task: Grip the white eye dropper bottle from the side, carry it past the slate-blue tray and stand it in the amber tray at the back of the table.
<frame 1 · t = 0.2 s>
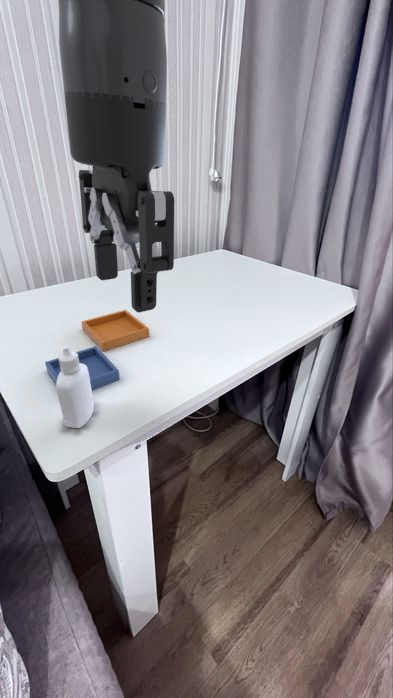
hand: (124, 292, 34), 22 cm above the table, tool pointing down, fingers open, 8 cm apart
eye dropper bottle: (80, 416, 49), on the table
amber tray: (115, 333, 69), on the table
blue tray: (83, 375, 57), on the table
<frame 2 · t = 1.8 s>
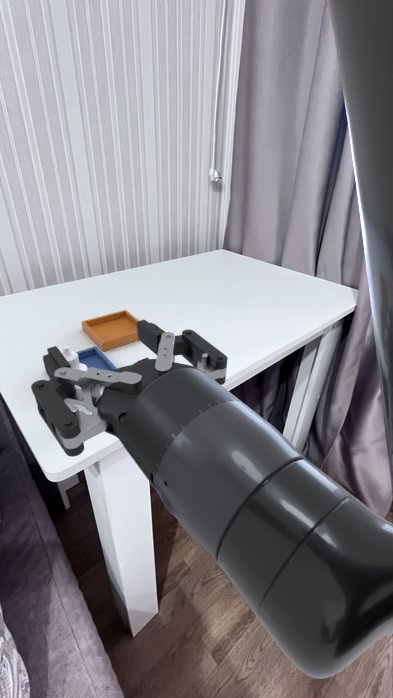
hand: (99, 341, 31), 19 cm above the table, tool horizontal, fingers open, 8 cm apart
nothing on the table moved.
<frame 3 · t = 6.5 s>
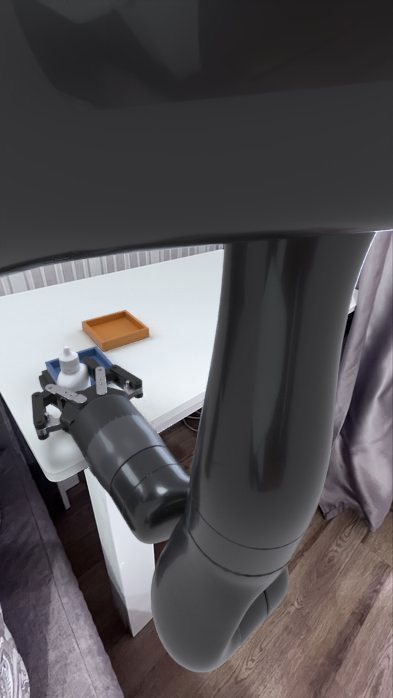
hand: (65, 368, 47), 7 cm above the table, tool horizontal, fingers closed on eye dropper bottle, 5 cm apart
eye dropper bottle: (80, 416, 49), on the table, touching gripper
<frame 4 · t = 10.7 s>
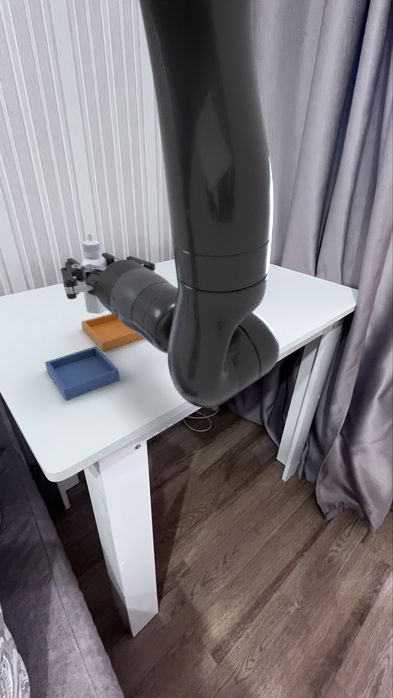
hand: (87, 261, 53), 18 cm above the table, tool horizontal, fingers closed on eye dropper bottle, 5 cm apart
eye dropper bottle: (99, 308, 55), point 10 cm above the table, touching gripper
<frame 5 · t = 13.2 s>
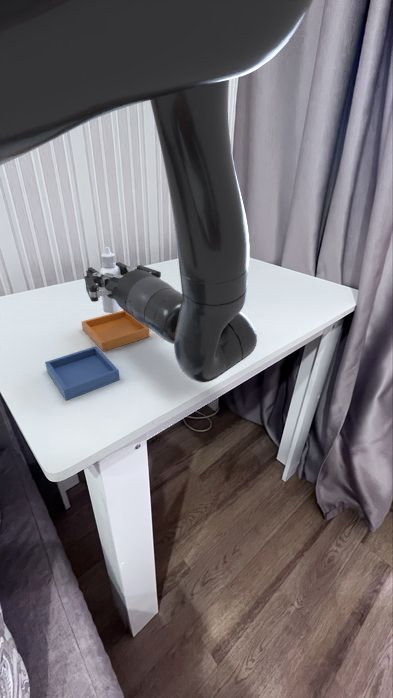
hand: (104, 270, 64), 13 cm above the table, tool horizontal, fingers closed on eye dropper bottle, 5 cm apart
eye dropper bottle: (114, 308, 66), point 6 cm above the table, touching gripper
when the fingers open (8 cm above the table, at t = 15.2 s): eye dropper bottle stays where it is, resting on amber tray.
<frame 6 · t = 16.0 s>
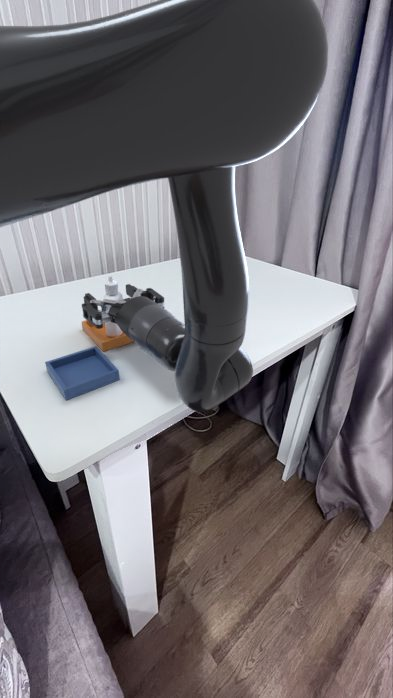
hand: (107, 293, 66), 8 cm above the table, tool horizontal, fingers open, 8 cm apart
eye dropper bottle: (116, 332, 69), resting on amber tray
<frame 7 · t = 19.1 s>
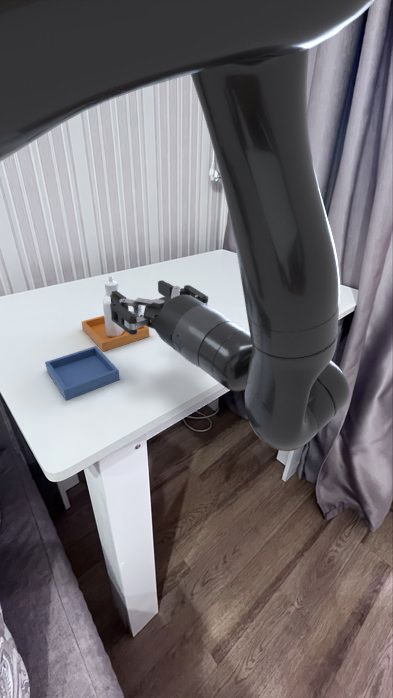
hand: (137, 291, 55), 13 cm above the table, tool horizontal, fingers open, 8 cm apart
nothing on the table moved.
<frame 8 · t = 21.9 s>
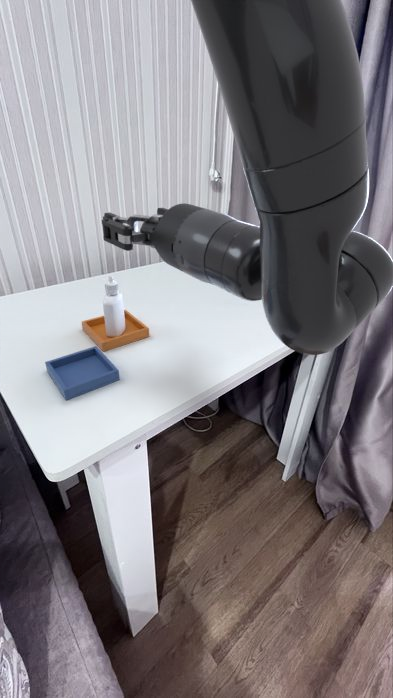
hand: (134, 217, 48), 25 cm above the table, tool horizontal, fingers open, 8 cm apart
nothing on the table moved.
at the end: eye dropper bottle inside the target area in the amber tray (0.2 cm from its centre), point 0.3 cm above the amber tray's base; eye dropper bottle tilted 0°; the gripper is holding nothing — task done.
